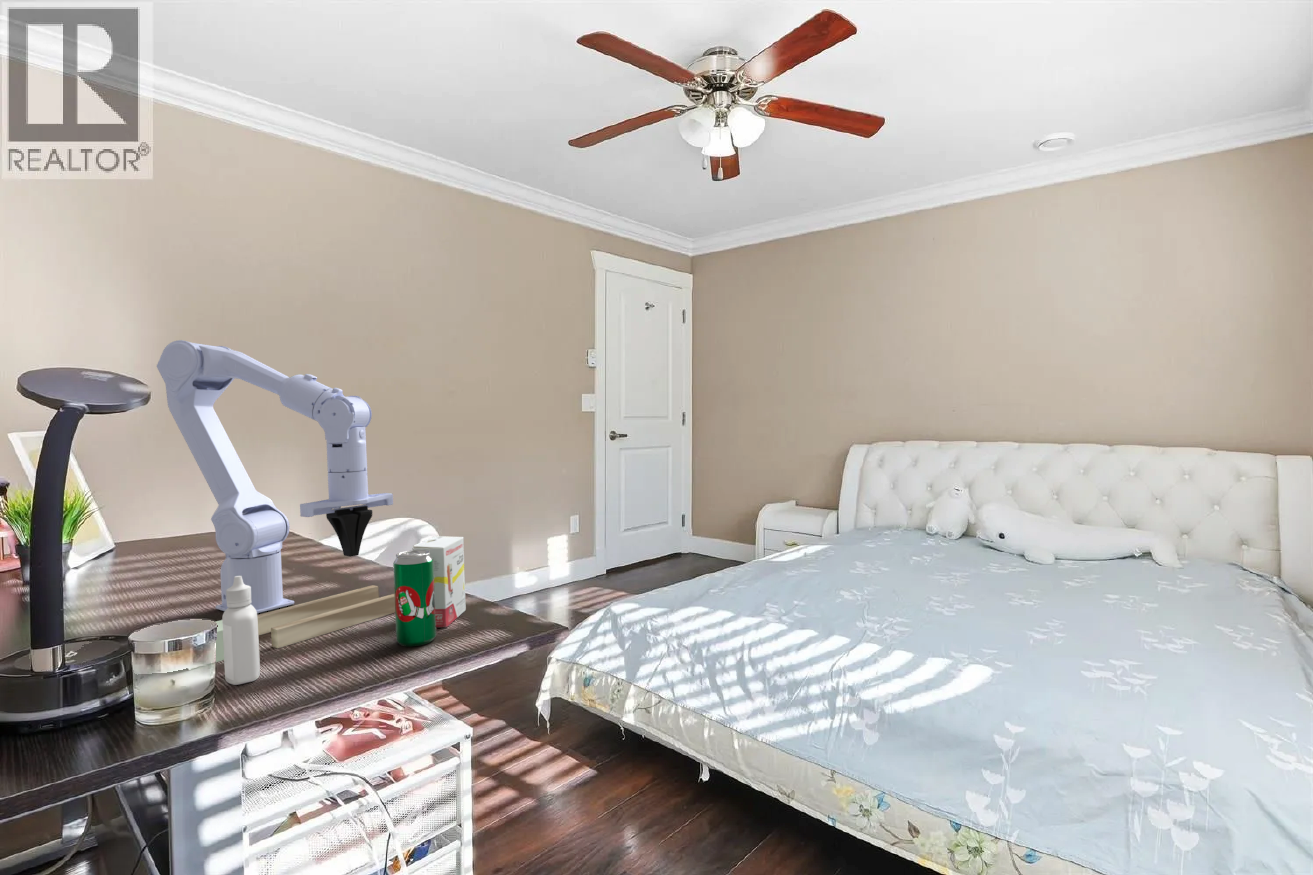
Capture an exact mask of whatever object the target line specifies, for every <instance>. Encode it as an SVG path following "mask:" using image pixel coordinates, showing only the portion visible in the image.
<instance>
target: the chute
mask: <svg viewBox="0 0 1313 875" xmlns="http://www.w3.org/2000/svg"><path fill="white" fill-rule="evenodd" d="M392 614H395V594H394V593H392V594H388V595H385V596H381V597H380V591H379V586H378V585H373V584H372V585H368V586H365V587H361V588H360V587H359V588H357V589H353V590H349V591H345V592H341V593H338V594H333V595H329V596H326V597H322V598H318V599H313V600H309V601H306V602H302V603H298V604H295V605H294V604H293V605H289V606H288V607H287V606H285V607H281V608H280V609H279V608H277V609H274V610H270V611H268V612H267V611H266V612H262V613H260V614H259V613H258V614H257V618H258V636H261V635H265V634H269V633H270V634H271V635H270V638H271V647H273V648H275V649H280V648H284V647H287V646H290V645H293V644H296V643H302V642H304V641H307V640H310V639H313V638H317V637H320V636H323V635H324V636H325V635H326V634H330V633H332V632H336V631H339V630H343V629H346V628H349V627H353V626H356V625H358V624H362V623H366V622H369V621H371V620H377V619H378V618H381V617H385V616H388V615H392Z"/></svg>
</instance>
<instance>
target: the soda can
mask: <svg viewBox="0 0 1313 875" xmlns="http://www.w3.org/2000/svg"><path fill="white" fill-rule="evenodd" d="M395 557H396V558H395V559H394V561H393V564H392V566H393V567H392V568H393V587H394V589H393V590H394V592H393V594H395V613H394V614H395V616H394V617H395V618H394V620H395V637H396V638H395V640H396V641H397V643H398V644H399V645H401V646H403V647H406V648H407V647H409V648H410V647H420V646H424V645H427V644H429V643H431V642H432V641H434V639H435V638H436V636H437V627H436V613H435V586H434V560H433V558H432V557H431V555H430V551H428V550H412V549H411V550H406V551H405V550H404V551H402V552H398V553H396V554H395Z"/></svg>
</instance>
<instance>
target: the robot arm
mask: <svg viewBox="0 0 1313 875" xmlns="http://www.w3.org/2000/svg"><path fill="white" fill-rule="evenodd" d="M156 369H157V370H158V372H159V374H160V376H161V378H162V380H163V382H164V384H165V391H166V393H165V394H166V401H167V408H168V410H169V412H170V414H171V416H172V418H173V420H174V422H175V424H176V425H177V427H178V429H179V432H180V433H181V435H182V437H183V439H184V441H185V443H186V444H187V447H188V449H189V450H190V452H191V454H192V457H193V458H194V461H195V463H196V464H197V466H198V467H199V470H200V471H201V474H202V475H203V477H204V480H205V482H206V483H207V485H208V487H209V490H211V493H212V495H213V497H214V498H215V500H216V503H217V508H216V510H215V511H214V512H213V514H212V516H211V519H210V520H211V523H212V524H213V526H214V530H215V542H216V544H217V547H218V548H219V550H221V552H223V553H224V554H225V559H224V561H223V562H222V564H221V567H220V570H219V571H220V591H221V592H220V593H221V604H216V605H215V609H216V610H220V611H223V612H225V610H226V609H227V608H228V607H227V598H226V590H227V589H228V588H230V587H232V585H233V582H234V577H235V576H242V580H243V583H244V584H245V585H248V586H250V587H251V603H250V604H251V605H252V606H253V607H254V608H255V609H256V611H257V614H259V613H260V614H261V613H265V612H267V611H268V612H269V611H273V610H277V609H279V608H280V609H281V608H285V607H287V606H288V607H289V606H293V605H294V604H295V601H294V600H292V599H289V598H284V594H283V592H284V591H283V589H284V588H283V574H282V573H283V572H282V571H283V570H282V568H283V567H282V551H281V549H283V542H284V541H286V539H287V537H288V536H289V533H290V529H291V528H290V521H289V519H288V517H287V515H286V514H285V513H284V512H282V511H281V510H280V509H278V507H277V506H275V503H274V502H273V500H272V499H271V498H270V497H268V496H266V495H265V494H263V493H261V492H259V491H258V490H257V489H256V488H255V486H254V484H253V481H252V480H251V478H250V476H249V475H248V474H249V473H248V472H247V470H246V469H245V467H244V464H243V463H242V461H241V459H240V457H239V455H238V452H237V451H236V449H235V447H234V445H233V443H232V441H231V440H230V438H229V435H228V433H227V432H226V430H225V428H224V426H223V424H222V423H221V420H220V418H219V416H218V414H217V413H216V411H215V409H214V404H215V403H216V401H218V399H219V398H220V397H221V396H222V395H223V393H225V391H226V390H227V389H228V387H229V386H230V385H231V384H232V383H233V382H234V380H235V379H238V380H241V381H244V382H247V383H249V384H251V385H253V386H256V387H259V388H261V389H263V390H266V391H268V392H270V393H272V394H275V395H277V396H279V401H280V402H281V404H282V406H283V407H285V408H287V409H290V410H292V411H293V412H296V413H298V414H301V415H303V416H304V417H306V418H309V419H312V420H313V421H316V422H317V423H318V424H319V426H320V427H321V428H322V430H323V431H324V438H325V442H326V460H327V462H326V463H327V484H328V485H327V486H328V487H327V488H328V499H323V500H322V499H321V500H317V501H312V502H305V503H300V504H299V513H300V515H299V516H300V517H304V518H310V517H311V518H312V517H314V516H319V515H326V516H325V517H326V520H327V521H328V522H329V524H330V525H331V527H332V528H333V530H334V532H335V533H336V537H337V538H338V541H339V544H340V546H341V549H342V553H343V556H344V557H349V558H350V557H356V556H359V555H360V550H361V544H362V542H363V541H362V540H363V537H364V534H365V531H366V529H367V526H368V524H369V523H370V521H371V518H372V517H373V510H372V509H369V508H374V507H375V508H377V507H383V506H393V505H394V494H393V493H389V492H383V493H374V494H369V483H368V482H369V480H368V455H367V437H366V436H367V434H366V433H367V432H366V428H367V427H368V426H369V425H370V423H371V422H372V421H371V420H372V416H373V413H372V409H371V408H372V407H370V405H369V403H368V402H367V401H366V400H364V399H362V397H361V396H360V395H359V396H358V395H348V396H345V395H344V394H343V392H344V391H343V389H341V388H339V387H333V388H332V387H330V386H327V385H325V384H323V383H321V382H319V381H317V379H318V377H317V376H315V375H313V374H310V373H305V374H304V375H303V374H295V375H293V376H290V377H289V375H286V374H284V373H283V372H280V371H278V370H276V369H275V368H273V367H271V366H268V365H267V364H264V363H263V362H261V361H259V360H257V359H255V358H253V357H251V356H249V355H248V354H245V353H244V352H242V351H238V350H235V349H233V348H232V349H231V348H230V347H228V346H226V345H225V346H223V345H210V344H204V343H197V342H191V341H187V340H182V339H179V340H174V341H172V342H169V343H168V344H167V345H166V346H165V347H164V349H163V350H162V352H161V355H160V357H159V360H158V362H157V364H156Z"/></svg>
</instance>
